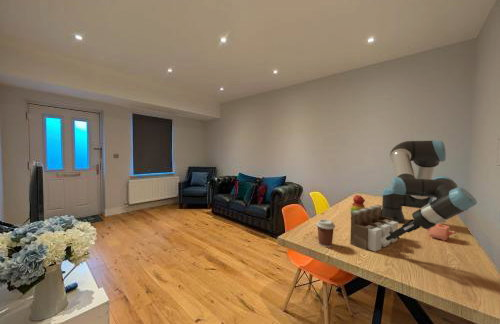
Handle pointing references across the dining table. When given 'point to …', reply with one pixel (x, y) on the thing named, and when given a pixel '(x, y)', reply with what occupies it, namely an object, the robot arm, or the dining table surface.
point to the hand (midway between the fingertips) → (382, 241)
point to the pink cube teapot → (440, 232)
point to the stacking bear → (357, 203)
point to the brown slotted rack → (364, 224)
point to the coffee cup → (325, 232)
